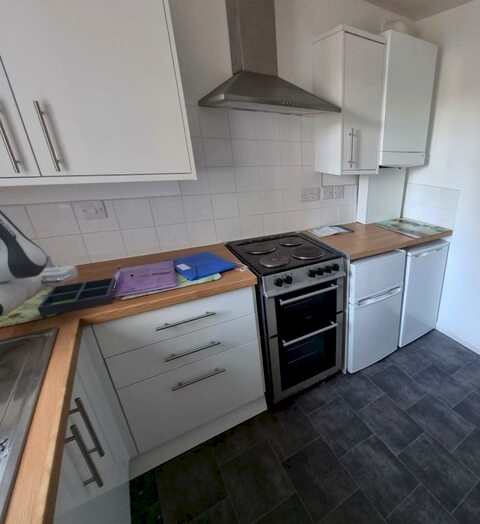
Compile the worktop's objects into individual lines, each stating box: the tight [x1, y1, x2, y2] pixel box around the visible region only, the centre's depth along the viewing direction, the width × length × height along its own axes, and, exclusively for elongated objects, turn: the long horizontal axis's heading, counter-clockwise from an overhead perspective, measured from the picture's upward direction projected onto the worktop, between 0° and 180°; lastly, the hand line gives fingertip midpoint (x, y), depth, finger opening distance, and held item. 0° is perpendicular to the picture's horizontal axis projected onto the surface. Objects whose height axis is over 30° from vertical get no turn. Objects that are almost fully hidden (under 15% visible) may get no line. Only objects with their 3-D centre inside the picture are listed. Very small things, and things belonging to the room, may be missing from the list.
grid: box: [37, 276, 118, 317], centre depth 115 cm, size 19×19×4 cm
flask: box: [45, 254, 62, 288], centre depth 103 cm, size 7×7×10 cm
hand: (50, 267), depth 104 cm, fingers closed on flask, 3 cm apart
